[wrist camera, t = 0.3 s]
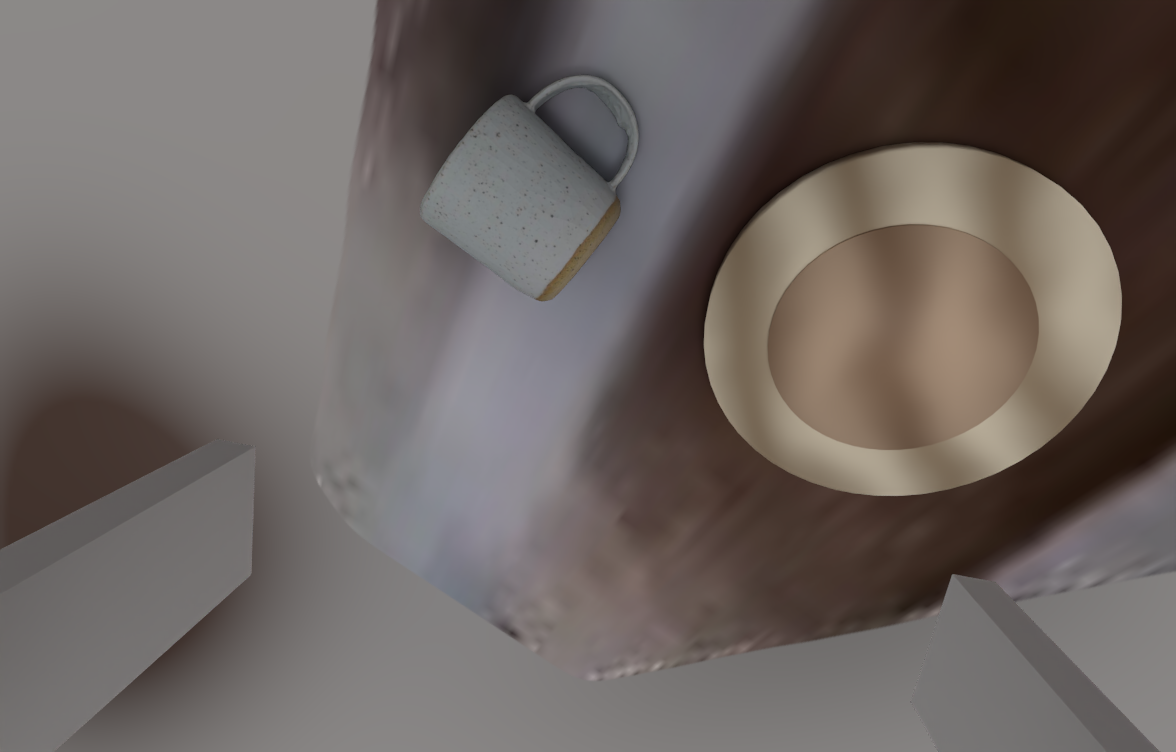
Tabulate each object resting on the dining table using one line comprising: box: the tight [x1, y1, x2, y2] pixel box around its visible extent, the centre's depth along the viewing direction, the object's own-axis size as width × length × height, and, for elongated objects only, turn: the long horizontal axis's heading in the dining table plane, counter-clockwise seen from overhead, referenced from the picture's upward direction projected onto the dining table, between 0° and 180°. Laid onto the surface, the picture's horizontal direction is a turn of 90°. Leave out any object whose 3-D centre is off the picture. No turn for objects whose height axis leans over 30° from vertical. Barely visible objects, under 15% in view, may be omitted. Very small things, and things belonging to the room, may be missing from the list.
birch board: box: [704, 142, 1122, 496], centre depth 35 cm, size 20×20×2 cm
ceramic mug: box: [420, 75, 639, 301], centre depth 33 cm, size 11×8×8 cm
